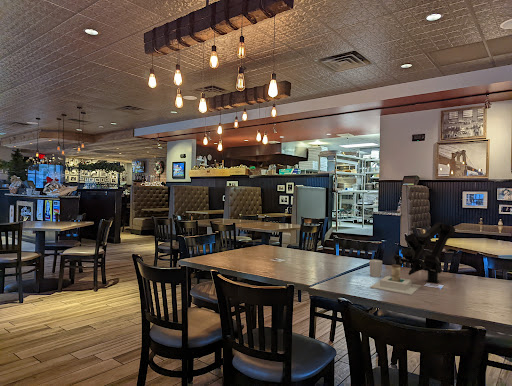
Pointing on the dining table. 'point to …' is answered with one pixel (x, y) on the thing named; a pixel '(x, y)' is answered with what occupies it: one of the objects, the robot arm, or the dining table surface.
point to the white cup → (375, 268)
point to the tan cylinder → (396, 273)
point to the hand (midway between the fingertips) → (402, 272)
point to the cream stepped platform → (396, 285)
